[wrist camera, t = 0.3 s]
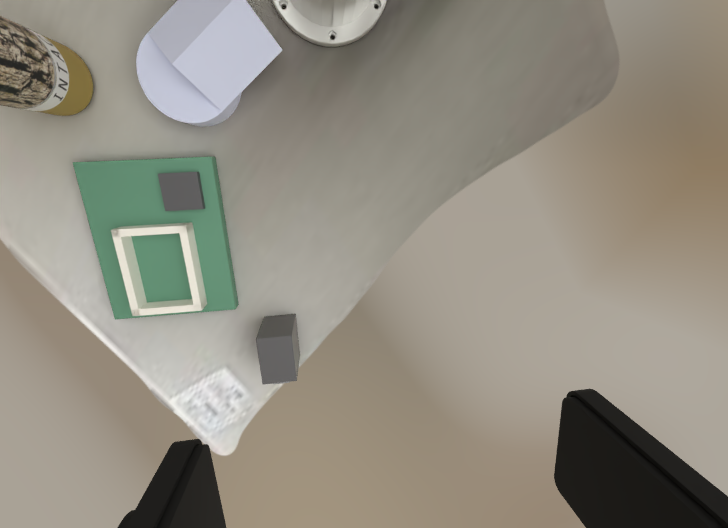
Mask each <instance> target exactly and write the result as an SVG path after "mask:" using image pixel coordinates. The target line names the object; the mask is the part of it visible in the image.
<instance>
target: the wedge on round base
mask: <svg viewBox="0 0 728 528" xmlns="http://www.w3.org/2000/svg"><path fill="white" fill-rule="evenodd" d="M281 51H282V49H281V47H280V46H279V45H278V43H277V42H276V41H275V39H274V38H273V36H272V35H271V34H270V32H269V31H268V30H267V28H266V27H265V26H264V24H263V23H262V21H261V20H260V19H259V17H258V16H257V15H256V13H255V12H254V11H253V9H252V8H251V6H250V5H249V4H248V2H247V1H246V0H177V1H176V2H175V3H174V5H173V6H172V7H171V8H170V9H169V10H168V11H167V12H166V13H165V14H164V15H163V16H162V18H161V19H160V20H159V21H158V22H157V23H156V24H155V25H154V26H153V27H152V28H151V29H150V31H149V32H148V33H147V34H146V35H145V37H144V38H143V40H142V41H141V43H140V46H139V49H138V52H137V59H136V67H137V75H138V79H139V82H140V85H141V87H142V89H143V91H144V93H145V94H146V96H147V98H148V99H149V100H150V101H151V103H152V104H153V105H154V106H155V107H156V108H157V109H158V110H160V111H161V112H162V113H163V114H165V115H167V116H168V117H170V118H172V119H175V120H178V121H181V122H184V123H187V124H191V125H194V126H203V127H206V126H213V125H217V124H219V123H221V122H223V121H225V120H226V119H227V118H229V117H230V116H231V115H232V114H233V112H234V111H235V109H236V108H237V106H238V104H239V101H240V97H241V92H242V91H243V90H244V89H245V88H246V87H247V86H248V85H249V84H250V83H251V82H252V81H253V80H254V79H255V78H256V77H257V76H258V75H259V74H260V73H261V72H262V71H263V70H264V69H265V68H266V66H267V65H268V64H269V63H270V62H271V61H272V60H273V59H274V58H275V57H276V56H277V55H278V54H279V53H280V52H281Z"/></svg>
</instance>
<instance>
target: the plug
mask: <svg viewBox="0 0 728 528" xmlns="http://www.w3.org/2000/svg"><path fill="white" fill-rule="evenodd" d="M256 342H257V349H258V356H259V363H260V370H261V376H262V383H263V384H271V383H273V384H279V383H288V382H290V381H297V375H298V366H299V358H300V351H299V342H298V332H297V323H296V314H289V315H278V316H266V317H264V319H263V322H262V324H261V327H260V330H259V332H258V335H257V338H256Z"/></svg>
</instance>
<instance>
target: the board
mask: <svg viewBox="0 0 728 528" xmlns="http://www.w3.org/2000/svg"><path fill="white" fill-rule="evenodd" d="M73 166H74V169H75V173H76V177H77V181H78V184H79V188H80V192H81V195H82V199H83V203H84V206H85V210H86V214H87V218H88V221H89V225H90V229H91V232H92V236H93V240H94V243H95V247H96V251H97V255H98V258H99V262H100V266H101V269H102V273H103V277H104V280H105V284H106V288H107V292H108V295H109V299H110V303H111V306H112V310H113V314H114V317H115V319H125V318H137V317H149V316H161V315H173V314H185V313H197V312H209V311H220V310H232V309H236V308H237V306H238V299H237V292H236V286H235V280H234V273H233V267H232V261H231V254H230V248H229V241H228V235H227V229H226V222H225V216H224V210H223V203H222V197H221V191H220V184H219V178H218V172H217V165H216V159H215V157H192V158H168V159H144V160H120V161H96V162H73Z"/></svg>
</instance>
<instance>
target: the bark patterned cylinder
mask: <svg viewBox="0 0 728 528" xmlns="http://www.w3.org/2000/svg"><path fill="white" fill-rule="evenodd" d="M92 94H93V82H92V77H91V74H90V72H89V70H88V68H87V66H86V64H85V63H84V62H83V60H82V59H81V58H80V57H79V56H78V55H77V54H76V53H75V52H73V51H72V50H70V49H69V48H67V47H66V46H64V45H62V44H60V43H57V42H55V41H53V40H51V39H49V38H46V37H44V36H42V35H40V34H38V33H36V32H34V31H32V30H30V29H27V28H25V27H23V26H21V25H19V24H16V23H14V22H12V21H10V20H8V19H6V18H3V17H1V16H0V105H3V106H8V107H14V108H19V109H25V110H30V111H37V112H43V113H48V114H54V115H60V116H67V115H73V114H76V113H79V112H80V111H82V110H83V109H85V107H86V106H87V105H88V104H89V102H90V100H91V98H92Z"/></svg>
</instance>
